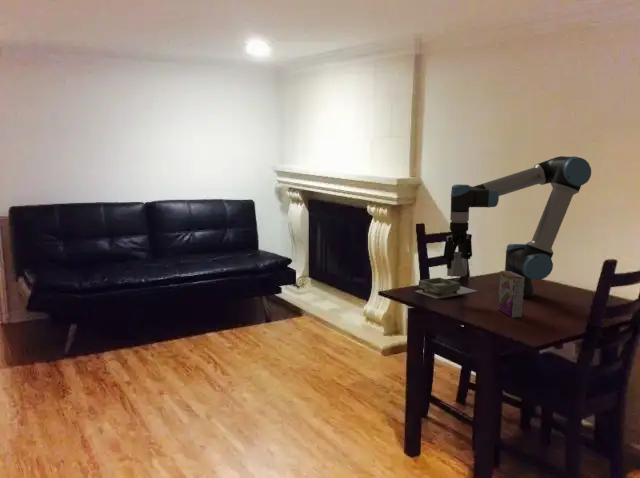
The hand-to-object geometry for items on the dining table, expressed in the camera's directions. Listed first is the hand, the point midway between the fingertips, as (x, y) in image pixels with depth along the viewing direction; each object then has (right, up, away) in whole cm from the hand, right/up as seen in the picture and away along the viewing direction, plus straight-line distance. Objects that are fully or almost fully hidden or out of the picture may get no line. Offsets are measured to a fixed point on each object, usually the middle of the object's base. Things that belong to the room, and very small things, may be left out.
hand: (457, 274), depth 246 cm
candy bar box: (+17, -15, -15) cm, 27 cm away
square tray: (-4, -9, +16) cm, 19 cm away
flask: (0, -1, 0) cm, 1 cm away
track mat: (-1, -9, +19) cm, 21 cm away
